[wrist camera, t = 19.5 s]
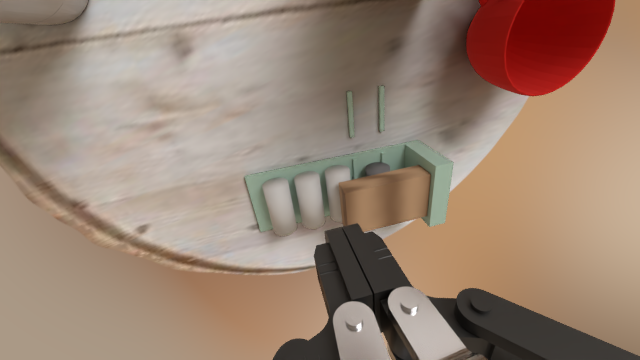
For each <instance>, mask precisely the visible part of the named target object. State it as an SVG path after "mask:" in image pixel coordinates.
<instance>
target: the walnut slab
mask: <svg viewBox="0 0 640 360" xmlns="http://www.w3.org/2000/svg"><path fill="white" fill-rule="evenodd" d="M430 181H431V174H430V173H429V172H428V171H426V170H425V169H424V168H423V167H421V166H420V165H416V166H412V167H407V168H403V169H398V170H394V171H389V172H385V173H380V174H376V175H371V176H367V177H362V178H358V179H353V180H348V181H344V182H339V183H338V184H339V194H340V204H341V214H342V223H343V225H344V226H347V225H351V224H355V223H358V224H359V225H360V227H361V229H362V231H363V232H365V231H369V230H373V229H377V228H381V227H385V226H389V225H393V224H397V223H401V222H405V221H409V220H413V219H417V218H421V217H425V216H427V211H428V201H429V191H430Z"/></svg>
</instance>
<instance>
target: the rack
mask: <svg viewBox="0 0 640 360" xmlns="http://www.w3.org/2000/svg"><path fill="white" fill-rule="evenodd" d="M347 107H348V122H349V137H350V138H351V137H355V136H354V119H353V101H352V91H348V92H347ZM379 131H380V132H382V131H384V86H383V85H382V86H379Z"/></svg>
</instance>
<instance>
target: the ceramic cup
mask: <svg viewBox="0 0 640 360" xmlns="http://www.w3.org/2000/svg"><path fill="white" fill-rule="evenodd" d="M479 3H480V5H481V7H480V8H479V10H478V11H477V13H476V14H475V16H474V18H473V20H472V22H471V24H470V26H469V29H468V32H467V37H466V48H467V55H468V58H469V61H470V63H471V65H472V67H473V68H474V70H475V71H476V72H477V73H478V74H479V75H480V76H481V77H482V78H483V79H485V80H486V81H487V82H489V83H491V84H493V85H495V86H498V87H500V88H502V89H505V90H508V91H511V92H514V93H517V94H521V95H527V96H539V95H544V94H547V93H550V92H553V91H555V90H557V89H559V88H560V87H562V86H564V85H565V84H567V83H568V82H569V81H570V80H572V79H573V78H574V77H575V76H576V75H577V74H578V73H579V72H581V70H582V69H583V68H584V67H585V66H586V65H587V64H588V62H589V61H590V60H591V59H592V57H593V56H594V54H595V53H596V51H597V50H598V48H599V46H600V45H601V43H602V41H603V39H604V37H605V35H606V33H607V30H608V27H609V25H610V23H611V19H612V16H613V12H614V7H615V0H479Z"/></svg>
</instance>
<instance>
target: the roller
mask: <svg viewBox="0 0 640 360" xmlns="http://www.w3.org/2000/svg"><path fill="white" fill-rule="evenodd" d="M365 170H366V177H367V176H371V175H376V174H380V173H385V172H389V171H390V166H389V165H388V164H386V163H383V162H374V163H370V164H368V165H367V166H366V168H365Z"/></svg>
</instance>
